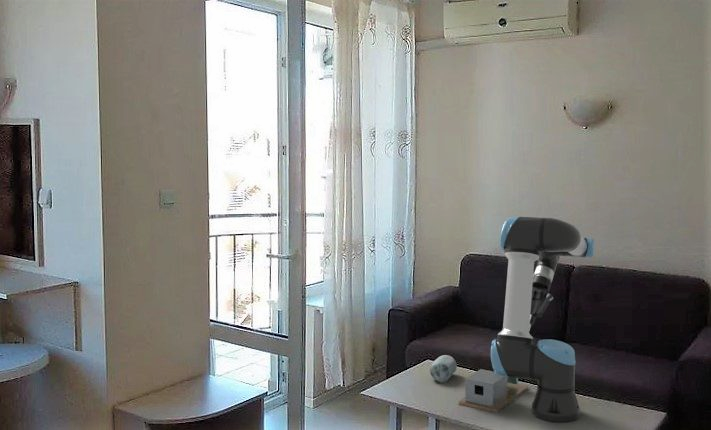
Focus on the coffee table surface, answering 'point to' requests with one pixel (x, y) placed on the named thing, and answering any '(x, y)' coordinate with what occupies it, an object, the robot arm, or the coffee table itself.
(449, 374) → the spool
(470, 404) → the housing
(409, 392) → the coffee table surface
